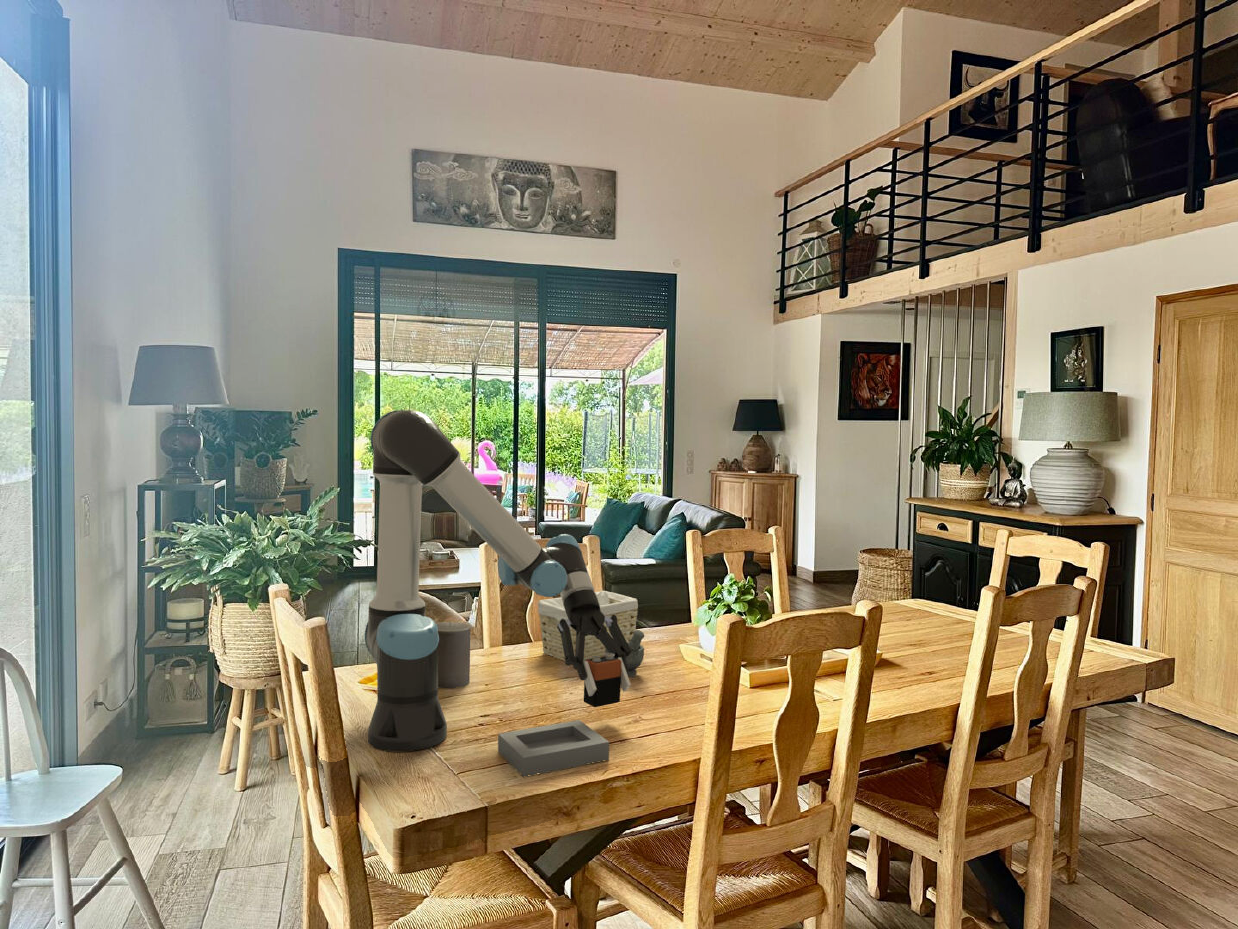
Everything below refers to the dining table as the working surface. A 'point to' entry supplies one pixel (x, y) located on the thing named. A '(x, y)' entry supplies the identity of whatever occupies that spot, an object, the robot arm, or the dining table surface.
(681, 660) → the dining table surface
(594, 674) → the battery
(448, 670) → the pillar candle
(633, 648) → the mortar and pestle
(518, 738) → the tray
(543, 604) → the storage basket
